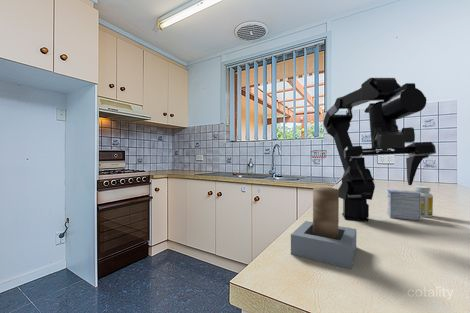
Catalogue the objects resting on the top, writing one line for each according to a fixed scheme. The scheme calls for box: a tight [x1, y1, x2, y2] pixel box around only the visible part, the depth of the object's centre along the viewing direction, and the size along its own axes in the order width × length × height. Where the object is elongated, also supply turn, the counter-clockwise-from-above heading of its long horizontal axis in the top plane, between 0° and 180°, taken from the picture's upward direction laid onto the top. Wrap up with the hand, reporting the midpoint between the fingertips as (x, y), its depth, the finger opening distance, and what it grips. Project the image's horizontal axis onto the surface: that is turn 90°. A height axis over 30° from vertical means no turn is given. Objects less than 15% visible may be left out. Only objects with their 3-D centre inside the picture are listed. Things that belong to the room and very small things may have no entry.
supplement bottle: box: [414, 185, 434, 218], centre depth 74 cm, size 5×5×10 cm
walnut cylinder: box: [312, 186, 340, 240], centre depth 47 cm, size 5×5×13 cm
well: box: [290, 220, 357, 270], centre depth 47 cm, size 11×11×4 cm
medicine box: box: [387, 189, 422, 221], centre depth 71 cm, size 8×4×9 cm, turn 65°
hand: (387, 185), depth 56 cm, fingers open, 9 cm apart
